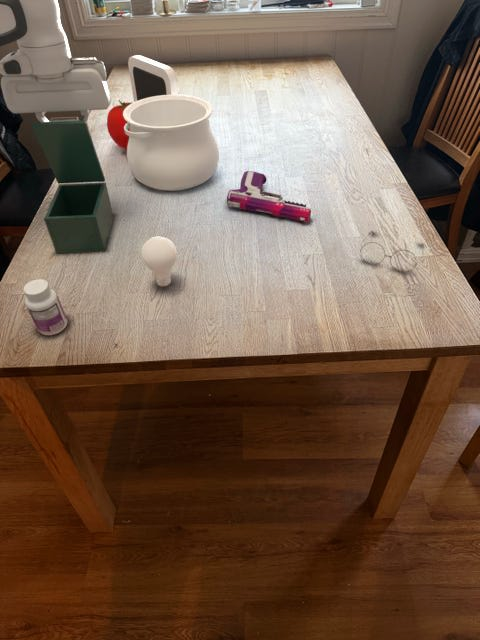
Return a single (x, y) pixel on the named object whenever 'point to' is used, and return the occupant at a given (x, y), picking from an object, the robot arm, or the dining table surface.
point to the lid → (69, 150)
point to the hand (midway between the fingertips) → (68, 131)
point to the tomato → (118, 125)
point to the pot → (171, 141)
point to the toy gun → (264, 199)
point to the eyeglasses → (386, 255)
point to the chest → (79, 218)
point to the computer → (151, 78)
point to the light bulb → (160, 258)
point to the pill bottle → (44, 307)
